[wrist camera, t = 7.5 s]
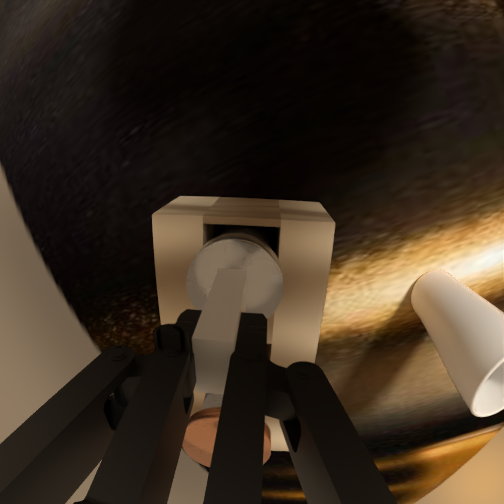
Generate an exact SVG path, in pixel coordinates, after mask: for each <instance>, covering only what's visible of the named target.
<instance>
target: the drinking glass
mask: <svg viewBox="0 0 504 504" xmlns="http://www.w3.org/2000/svg"><path fill="white" fill-rule="evenodd" d="M411 304H412V307H413V309H414V311H415V312H416V314H417V315H418V316H419V318H420V319H421V321H422V323H423V325H424V327H425V328H426V330H427V332H428V334H429V336H430V338H431V340H432V342H433V344H434V346H435V348H436V350H437V352H438V354H439V356H440V358H441V360H442V362H443V364H444V366H445V368H446V370H447V372H448V374H449V376H450V378H451V380H452V382H453V384H454V385H455V387H456V389H457V391H458V392H459V394H460V395H461V397H462V399H463V400H464V402H465V403H466V405H467V406H468V408H469V409H470V411H471V412H472V414H473V415H475V416H477V417H486V416H490V415H493V414H495V413H497V412H499V411H501V410H503V409H504V313H503V312H502V311H501V310H499V309H498V308H497V307H495V306H494V305H493V304H491V303H490V302H488V301H487V300H485V299H484V298H483V297H481V296H480V295H478V294H477V293H476V292H474V291H473V290H471V289H470V288H468V287H467V286H466V285H464V284H463V283H461V282H460V281H458V280H457V279H456V278H455V277H453V276H452V275H451V274H450V273H449V272H447V271H445V270H441V269H435V270H431V271H428V272H427V273H425V274H424V275H422V276H421V277H420V278H419V279H418V281H417V282H416V283H415V285H414V287H413V290H412V294H411Z"/></svg>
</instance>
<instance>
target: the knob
mask: <svg viewBox="0 0 504 504" xmlns="http://www.w3.org/2000/svg"><path fill="white" fill-rule="evenodd" d="M219 268H229V269H246V270H247V281H246V312H245V313H262V314H264V316H265V317H266V318H267V319H268V318H269V317H270V316H271V315H272V314H273V313H274V312H275V310H276V309H277V307H278V306H279V304H280V302H281V299H282V295H283V275H282V268H281V265H280V262H279V260H278V258H277V256H276V254H275V253H274V252H273V250H272V249H271V238H270V234H269V231H268V229H267V228H266V226H248V225H226V226H225V227H224V229H223V231H222V233H221V234H220V236H218V237H215V238H213V239H211V240H210V241H208V242H207V243H206V244H205V245H204V246H203V247H202V248H201V249H200V250H199V252H198V253H197V255H196V256H195V258H194V259H193V261H192V263H191V265H190V267H189V269H188V272H187V278H186V287H187V292H188V296H189V298H190V301H191V302H192V304H193V306H194V307H195V308H196V310H203V308H204V305H205V302H206V300H207V297H208V295H209V292H210V289H211V287H212V284H213V282H214V279H215V277H216V274H217V272H218V269H219Z"/></svg>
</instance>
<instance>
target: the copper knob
mask: <svg viewBox="0 0 504 504" xmlns="http://www.w3.org/2000/svg"><path fill="white" fill-rule="evenodd" d="M222 400H223V395H221V394H211V393H206V394H205V398H204V402H203V406H202V410H200V411H198V412H196V413H194V414H193V415H192V416H191V417H190V418H189V422H188V425H187V429H186V433H185V437H184V440H183V444H182V446H183V449H184V450H185V452H186V453H187V454H188V455H189V456H190V457H191V458H192V459H194V460H195V461H197V462H199V463H201V464H203V465H205V466H208V467H210V464H211V459H212V454H213V448H214V443H215V437H216V432H217V427H218V421H219V416H220V411H221V405H222ZM270 454H271V430H270V428H269V426H268V425H267V424H266V423H265V431H264V454H263V464H264V463H265V462H266V461H267V460H268V459H269V457H270Z"/></svg>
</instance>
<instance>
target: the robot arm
mask: <svg viewBox="0 0 504 504" xmlns="http://www.w3.org/2000/svg"><path fill="white" fill-rule="evenodd" d="M246 281H247V270H246V269H229V268H219V269H218V272H217V274H216V277H215V279H214V282H213V284H212V287H211V289H210V292H209V295H208V297H207V300H206V302H205V305H204V308H203V310H194V309H186V310H185V311H183V312H182V313H181V314H180V315H179V317H178V319H177V322H176V323H175V324H164V325H160V326H158V327H156V328H155V329H154V330H153V336H154V343H155V351H154V353H152V354H147V355H135V354H134V351H133V350H132V349H131V348H129V347H128V346H123V345H117V346H112V347H109V348H108V349H106V350H105V351H103V352H102V353H101V354H100V355H99V356H98V357H97V358H96V359H94V360H93V361H92V362H91V363H90V364H89V365H87V366H86V367H85V368H84V369H83V370H82V371H81V372H80V373H78V374H77V375H76V376H75V377H74V378H73V379H72V380H70V381H69V382H68V383H67V384H66V385H65V386H64V387H63V388H61V389H60V390H59V391H58V392H57V393H56V394H55V395H54V396H53V397H51V398H50V399H49V400H48V401H47V402H46V403H45V404H44V405H43V406H41V407H40V408H39V409H38V410H37V411H36V412H35V413H34V414H33V415H31V416H30V417H29V418H28V419H27V420H26V421H25V422H24V423H23V424H22V425H21V426H19V427H18V428H17V429H16V430H15V431H14V432H13V433H12V434H11V435H10V436H9V437H7V438H6V439H5V440H4V441H3V442H2V443H1V444H0V504H65V503H66V502H67V501H68V499H69V498H70V497H71V496H72V495H73V493H74V492H75V491H76V490H77V489H78V488H79V486H80V485H81V484H82V483H83V482H84V480H85V479H86V478H87V477H88V476H89V474H90V473H91V472H92V471H93V469H94V468H95V467H96V466H97V465H98V463H99V462H100V461H101V460H102V461H101V464H100V466H99V468H98V470H97V473H96V475H95V477H94V480H93V482H92V484H91V486H90V489H89V491H88V493H87V495H86V497H85V499H84V500H83V501H79V502H74V503H73V504H167V501H168V497H169V493H170V489H171V486H172V482H173V478H174V474H175V470H176V466H177V463H178V459H179V455H180V451H181V448H182V444H183V440H184V437H185V433H186V429H187V425H188V422H189V418H190V414H191V411H192V407H193V403H194V392H193V391H194V388H195V384H196V392H202V393H211V394H221V395H223V400H222V405H221V411H220V416H219V421H218V427H217V432H216V437H215V443H214V448H213V454H212V459H211V464H210V470H209V475H208V481H207V487H206V492H205V497H204V502H203V504H261V495H262V475H263V454H264V431H265V416H268V417H272V418H275V419H278V420H279V423H280V426H281V429H282V432H283V435H284V438H285V441H286V444H287V447H288V449H289V452H290V455H291V458H292V461H293V464H294V467H295V469H296V472H297V475H298V478H299V481H300V483H301V486H302V489H303V492H304V494H305V497H306V500H307V503H308V504H397V502H396V500H395V499H394V497H393V495H392V493H391V491H390V490H389V488H388V486H387V484H386V482H385V481H384V479H383V477H382V475H381V474H380V472H379V470H378V468H377V466H376V465H375V463H374V461H373V459H372V457H371V456H370V454H369V452H368V450H367V449H366V447H365V445H364V443H363V441H362V440H361V438H360V436H359V434H358V433H357V431H356V429H355V427H354V425H353V424H352V422H351V420H350V418H349V417H348V415H347V413H346V411H345V410H344V408H343V406H342V404H341V402H340V401H339V399H338V397H337V395H336V394H335V392H334V390H333V388H332V386H331V385H330V383H329V381H328V379H327V378H326V376H325V374H324V372H323V371H322V369H321V368H320V367H319V366H318V365H316V364H314V363H311V362H307V361H298V362H295V363H292V364H291V365H289V366H288V367H287V368H285V367H282V366H279V365H276V364H274V363H273V362H271V361H270V360H269V358H268V357H267V318H266V317H265V316H264V314H262V313H245V312H246ZM111 394H112V395H111ZM110 395H111V396H110ZM109 396H110V397H109Z"/></svg>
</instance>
